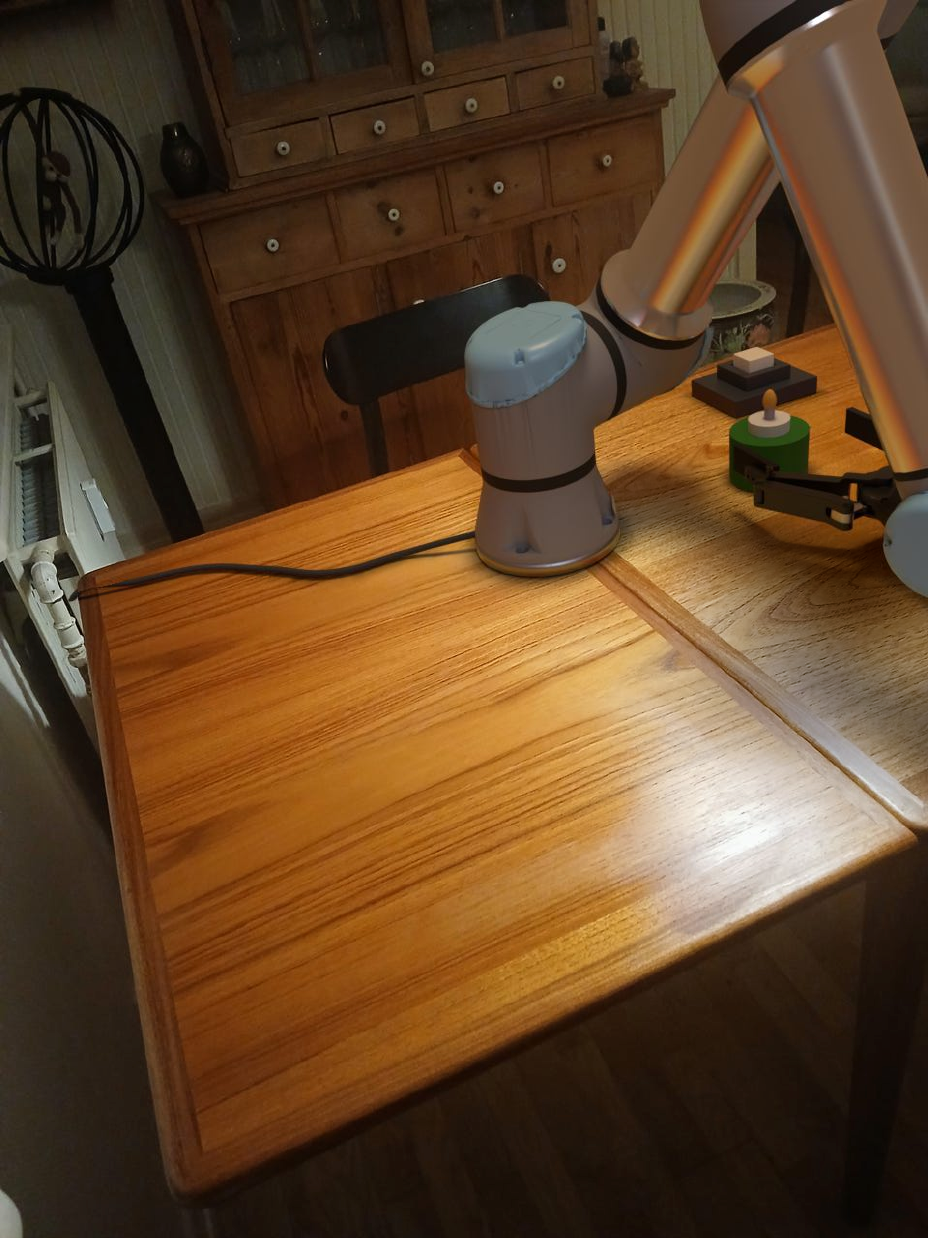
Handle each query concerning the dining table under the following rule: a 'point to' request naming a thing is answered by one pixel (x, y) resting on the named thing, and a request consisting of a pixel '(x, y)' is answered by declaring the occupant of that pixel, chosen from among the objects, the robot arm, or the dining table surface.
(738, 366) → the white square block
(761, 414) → the candle
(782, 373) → the tiered dark pedestal
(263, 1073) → the dining table surface
